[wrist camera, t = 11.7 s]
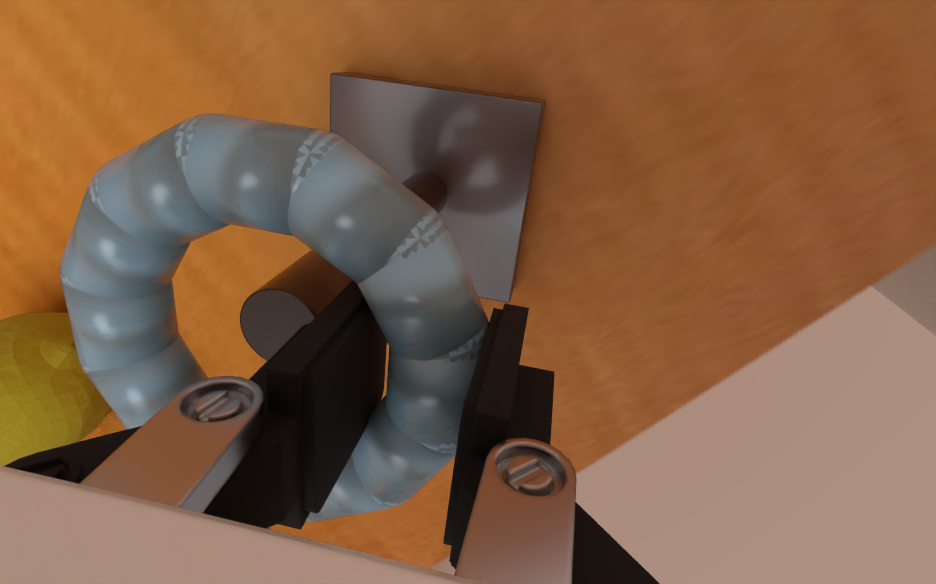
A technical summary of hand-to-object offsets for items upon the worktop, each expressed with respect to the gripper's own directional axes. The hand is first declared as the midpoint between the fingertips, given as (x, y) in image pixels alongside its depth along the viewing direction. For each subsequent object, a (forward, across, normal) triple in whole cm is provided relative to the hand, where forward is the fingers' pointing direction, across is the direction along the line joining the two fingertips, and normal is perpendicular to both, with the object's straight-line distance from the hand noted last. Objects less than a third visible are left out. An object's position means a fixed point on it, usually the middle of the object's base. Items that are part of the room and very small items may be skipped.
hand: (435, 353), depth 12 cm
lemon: (+14, +24, +14) cm, 32 cm away
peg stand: (+14, +4, 0) cm, 15 cm away
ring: (-1, +3, 0) cm, 3 cm away
